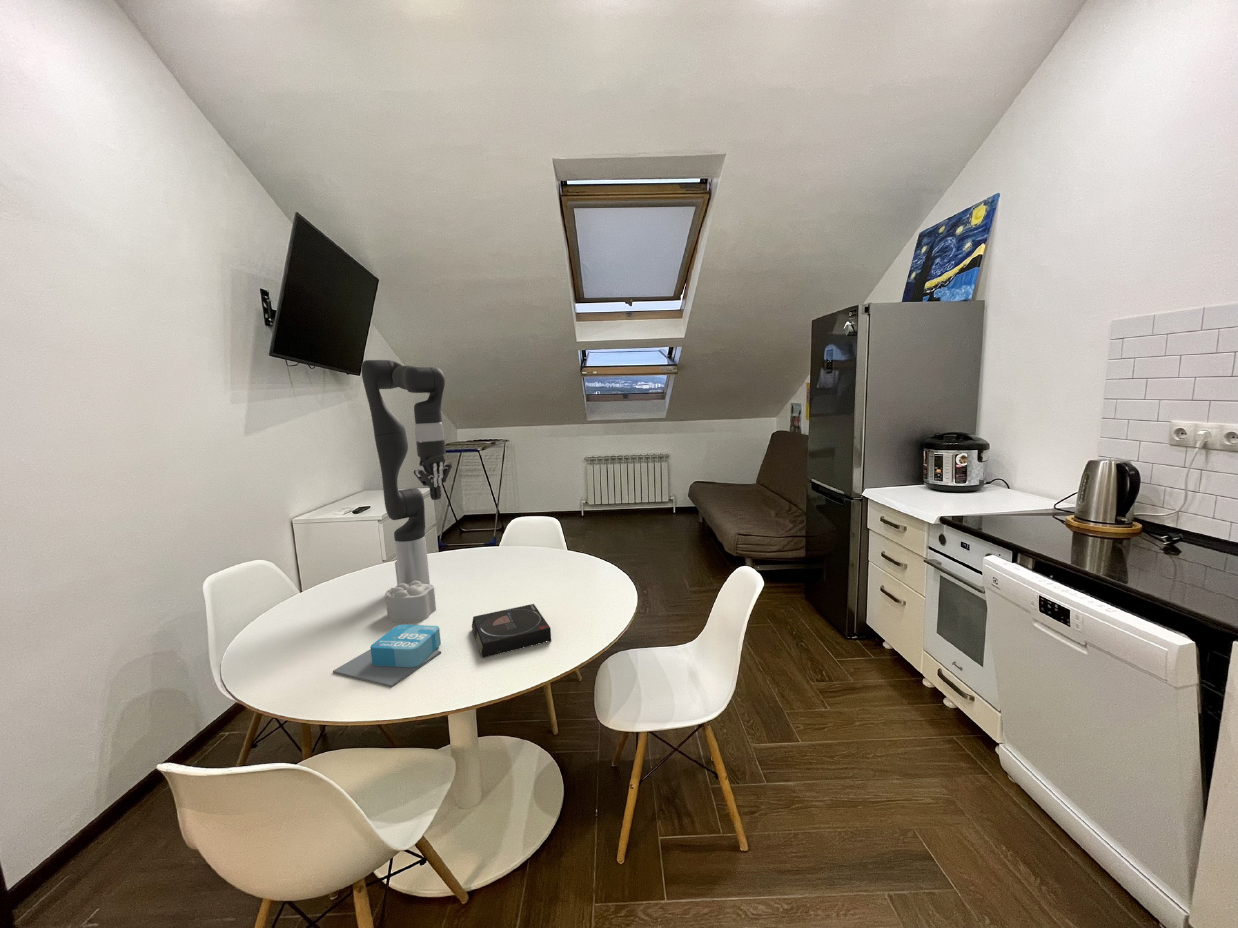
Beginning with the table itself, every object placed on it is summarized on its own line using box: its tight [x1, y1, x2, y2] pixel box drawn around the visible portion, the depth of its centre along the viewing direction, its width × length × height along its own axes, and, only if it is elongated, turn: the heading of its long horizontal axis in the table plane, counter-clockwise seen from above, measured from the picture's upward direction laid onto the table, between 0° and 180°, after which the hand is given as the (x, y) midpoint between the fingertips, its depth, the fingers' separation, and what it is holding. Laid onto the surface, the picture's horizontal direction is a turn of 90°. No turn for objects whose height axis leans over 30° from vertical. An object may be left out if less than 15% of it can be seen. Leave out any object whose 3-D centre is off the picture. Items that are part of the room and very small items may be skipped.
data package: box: [369, 624, 442, 668], centre depth 119 cm, size 12×4×12 cm
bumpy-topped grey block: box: [384, 581, 437, 623], centre depth 142 cm, size 10×13×9 cm
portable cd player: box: [471, 603, 552, 658], centre depth 127 cm, size 16×17×4 cm
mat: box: [332, 648, 442, 688], centre depth 116 cm, size 18×15×1 cm
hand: (436, 499), depth 141 cm, fingers closed
